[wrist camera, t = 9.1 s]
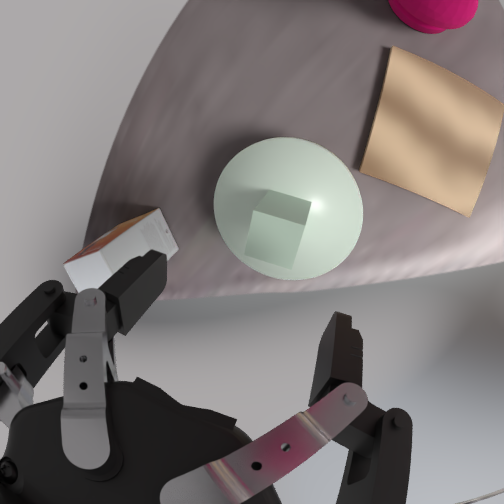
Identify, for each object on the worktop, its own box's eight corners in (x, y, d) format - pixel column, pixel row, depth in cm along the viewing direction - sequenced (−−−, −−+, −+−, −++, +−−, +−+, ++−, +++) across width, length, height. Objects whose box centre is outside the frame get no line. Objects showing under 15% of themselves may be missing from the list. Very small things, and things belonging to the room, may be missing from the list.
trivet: (390, 48, 17) (392, 45, 16) (500, 104, 16) (505, 105, 15) (359, 169, 24) (359, 171, 23) (465, 214, 22) (469, 217, 21)
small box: (161, 206, 31) (99, 249, 22) (180, 249, 33) (129, 302, 24) (117, 223, 34) (60, 263, 25) (135, 260, 36) (85, 306, 28)
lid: (229, 122, 20) (198, 127, 15) (382, 164, 18) (397, 182, 14) (209, 251, 26) (182, 283, 21) (333, 291, 24) (330, 333, 20)
